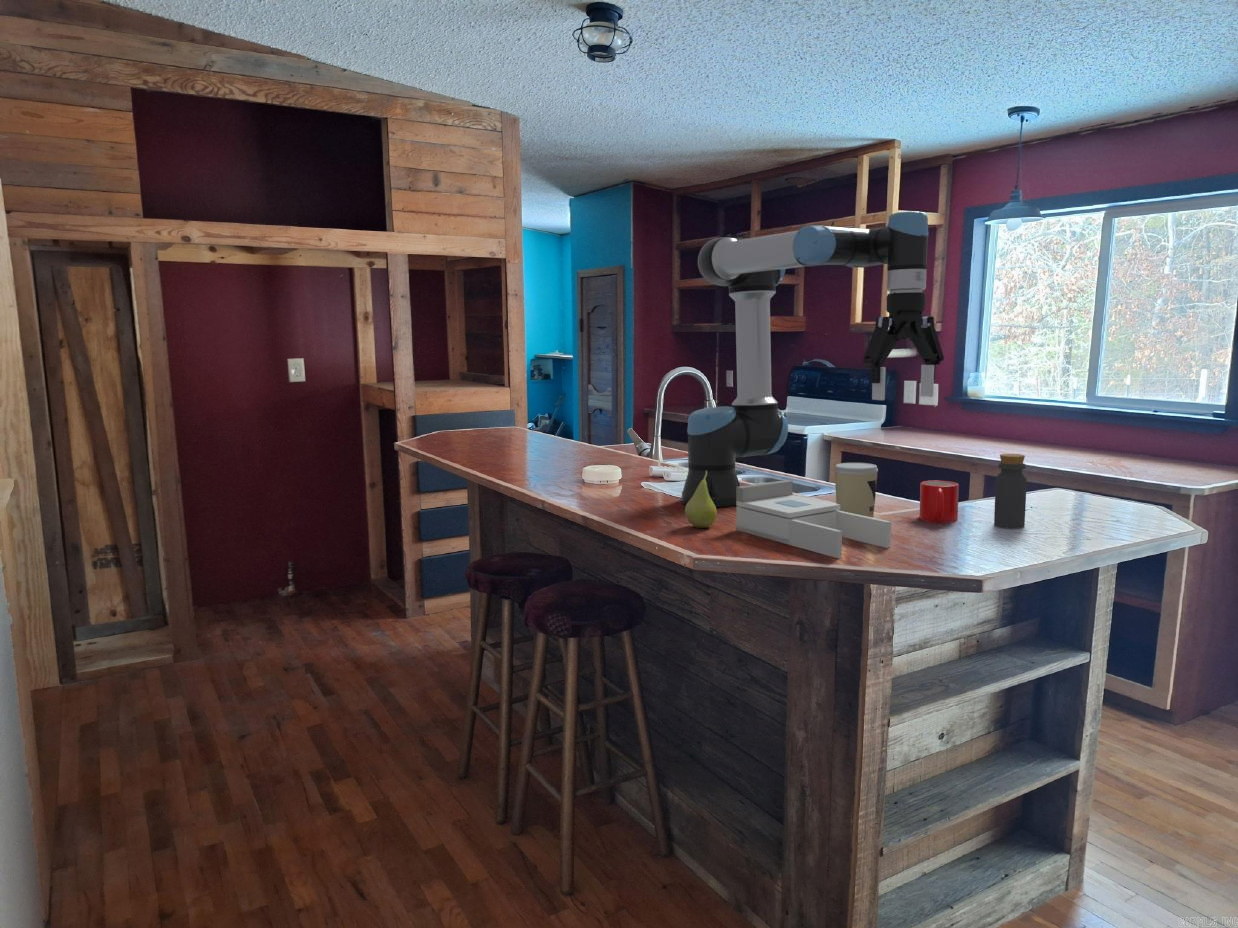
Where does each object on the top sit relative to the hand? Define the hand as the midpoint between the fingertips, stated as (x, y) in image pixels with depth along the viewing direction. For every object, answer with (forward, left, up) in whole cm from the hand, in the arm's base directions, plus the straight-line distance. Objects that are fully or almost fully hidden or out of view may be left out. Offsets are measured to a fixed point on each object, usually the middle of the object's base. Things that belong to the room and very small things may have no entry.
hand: (902, 398), depth 171 cm
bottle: (+11, +21, -28) cm, 36 cm away
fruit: (-27, -31, -28) cm, 50 cm away
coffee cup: (-13, +1, -28) cm, 30 cm away
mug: (-1, +14, -28) cm, 31 cm away
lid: (-12, -20, -22) cm, 32 cm away
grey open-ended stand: (-5, -20, -27) cm, 35 cm away
